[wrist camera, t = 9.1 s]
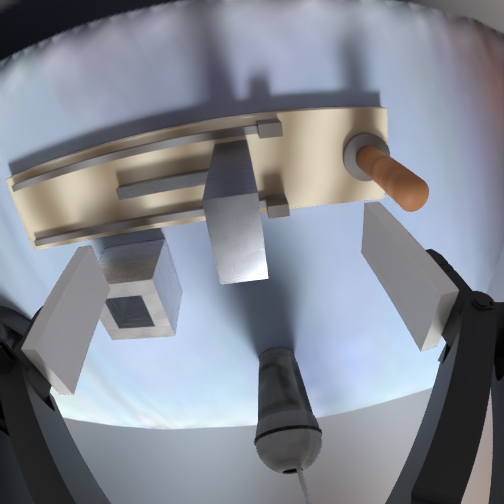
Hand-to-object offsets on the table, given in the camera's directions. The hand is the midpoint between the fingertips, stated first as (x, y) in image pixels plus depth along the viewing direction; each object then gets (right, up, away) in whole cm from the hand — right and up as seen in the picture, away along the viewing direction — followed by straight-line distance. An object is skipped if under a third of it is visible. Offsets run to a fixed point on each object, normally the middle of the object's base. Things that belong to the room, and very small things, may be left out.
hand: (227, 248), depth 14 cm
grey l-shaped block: (-4, +5, +9) cm, 11 cm away
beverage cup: (+4, -14, +24) cm, 28 cm away
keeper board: (-5, +6, +10) cm, 13 cm away
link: (-10, -2, +15) cm, 18 cm away
